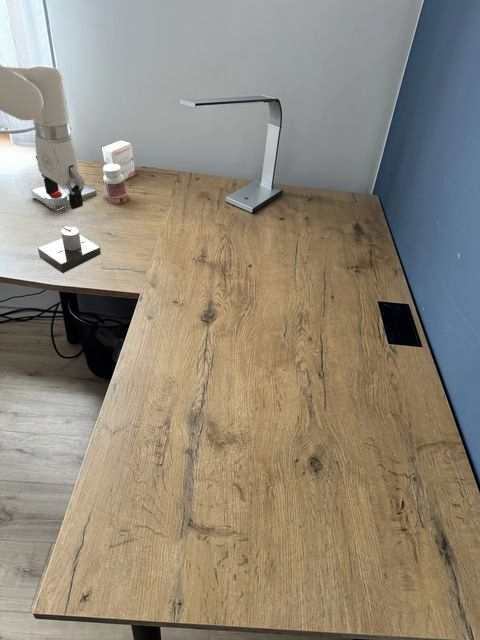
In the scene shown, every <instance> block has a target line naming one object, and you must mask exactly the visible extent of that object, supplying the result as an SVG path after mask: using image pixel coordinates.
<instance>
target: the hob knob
mask: <svg viewBox="0 0 480 640" xmlns="http://www.w3.org/2000/svg"><path fill="white" fill-rule="evenodd" d="M60 234H61V239H62V240H63V246H64V248H65V249H66V250H70V251H73V250H78V249H79V248H81V241H80V235H81V234H80V230H79V228H77V227H75V226H64V227H63V228H62V229H61V230H60Z"/></svg>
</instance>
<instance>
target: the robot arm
mask: <svg viewBox="0 0 480 640" xmlns="http://www.w3.org/2000/svg"><path fill="white" fill-rule="evenodd" d="M0 111H1V112H3V113H5V114H6V115H9V116H11V117H13V118H15V119H17V120H19V121H33V126H34V132H35V133H34V144H35V153H36V154H35V159H36V161H37V167H38V171H39V173H40V174H41V177H42V178H43V183H44V186H45V189H46V193H47V194H48V195H49V194H52V193H55V192H58V191H59V189H58V184H60V185H65V184H66V186H67V188H68V190H69V192H70V193H69V194H68V195H69V201H70V206H69V208H70V209H71V210H76V209H79V208H82V207H83V206H84V202H83V201H84V200H82V194H81V192H82V190H83V188H84V184H85V179H84V177H83V176H82V175H81V174H80V172H79V171H80V170H79V165H78V164H79V163H78V159H77V154H76V150H75V147H74V143H73V139H72V128H71V122H70V116H69V109H68V102H67V94H66V87H65V80H64V76H63V73H62V72H61V70H59V69H58V68H56V67H53V66H50V65H34V66H30V67H10V66H4V65H2V64H0ZM69 178H71V180H69ZM71 183H74V184H75V186H74V187H73V188H72V186H71Z"/></svg>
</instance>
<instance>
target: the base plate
mask: <svg viewBox="0 0 480 640" xmlns="http://www.w3.org/2000/svg"><path fill="white" fill-rule="evenodd" d="M80 241H81V248H79V249H78V250H73V251H70V250H66V249H65V248H64V246H63V240H62V238H60V239H57V240H54V241H52V242H49V243H48V244H45V245H42V246H39V247H37V251H38V255H39V256H38V257H39V259H41V260H42V261H44V262H45V263H47V264H48V265H50V266H51V267H53V268H54V269H55V270H57V271H58V272H60V273H61V274H65V273H67V272H69V271H72V270H73V269H75V268H77V267H80V266H81V265H82V264H84V263H87V262H88V261H91V260H93V259H95V258H97V257H98V256H99V257H100V256H101V255H102V252H101V247H100V246H98V245H97V244H96V243H94V242H93V241H91V240H89V239H88V238H86V237H84V235H81V234H80Z"/></svg>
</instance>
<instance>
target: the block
mask: <svg viewBox="0 0 480 640" xmlns="http://www.w3.org/2000/svg"><path fill="white" fill-rule="evenodd" d="M69 180H71V178H69ZM71 186H72V188H73V187H74V186H75V184H74V183H71ZM58 188H59V189H60V190H61V197H57V198H53V197H50V194H49V195H48V194H47V193H46V189H45V185H43V186H40V187H39V186H38V187H36V188H32V189H31V190H30V193H31V196H33V197H32V198H34V197H35V198H36V200H37V199H38V200H37V201H39V200H40V201H41V202H40V201H39V202H40V203H42V202H43V203H45V204H46V205H45V204H44V205H45V206H47V205H48V206H50V207H52V208H53V209H55V210H57V209H60V208H62V207H65V206H68V205H70V201H69V195H68V194H69V193H70V192H69V190H68V188H67V186H66V184H65V185H60V184H58ZM81 194H82V201H85V200H87V199H89V198H92V197H94V196H97V195H98V194H97V190H96V189H95V188H93V187H91V186H89V185H87V184H86V183H84V188H83V190H82V192H81ZM35 198H34V199H35ZM84 199H85V200H84ZM43 203H42V204H43ZM48 206H47V207H48ZM50 207H49V208H50ZM68 207H69V206H68ZM52 208H51V209H52ZM53 209H52V210H53ZM55 210H54V211H55Z"/></svg>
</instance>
